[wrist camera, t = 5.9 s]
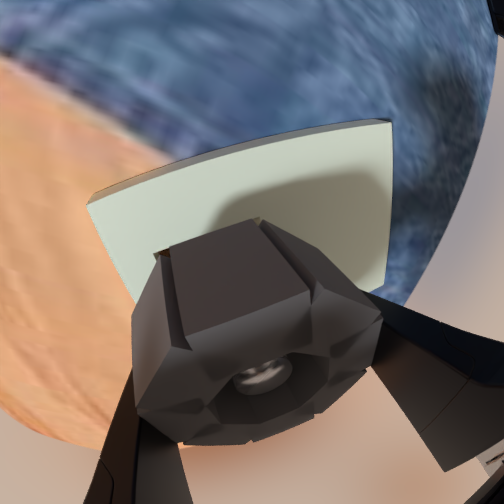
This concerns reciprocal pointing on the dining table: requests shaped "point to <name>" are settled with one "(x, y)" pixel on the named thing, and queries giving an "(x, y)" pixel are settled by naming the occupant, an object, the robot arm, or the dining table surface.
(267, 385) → the grey metallic cylinder
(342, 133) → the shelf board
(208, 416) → the grey octagonal ring
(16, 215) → the dining table surface
